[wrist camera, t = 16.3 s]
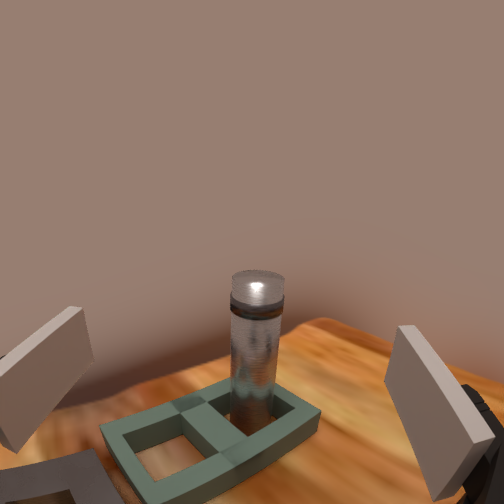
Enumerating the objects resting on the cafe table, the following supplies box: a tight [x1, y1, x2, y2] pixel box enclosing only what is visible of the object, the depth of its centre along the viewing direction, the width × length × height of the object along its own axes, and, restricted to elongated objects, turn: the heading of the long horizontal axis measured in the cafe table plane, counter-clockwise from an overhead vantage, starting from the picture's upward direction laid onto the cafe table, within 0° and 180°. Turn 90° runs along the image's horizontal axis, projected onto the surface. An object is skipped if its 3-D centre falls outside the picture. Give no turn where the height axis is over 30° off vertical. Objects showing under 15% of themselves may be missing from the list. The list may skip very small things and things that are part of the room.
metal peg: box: [230, 270, 284, 437], centre depth 27 cm, size 4×4×16 cm
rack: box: [99, 377, 321, 504], centre depth 25 cm, size 10×18×3 cm, turn 132°
